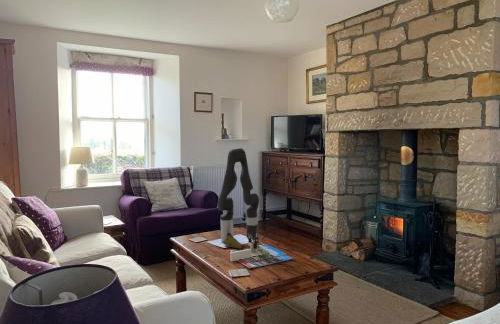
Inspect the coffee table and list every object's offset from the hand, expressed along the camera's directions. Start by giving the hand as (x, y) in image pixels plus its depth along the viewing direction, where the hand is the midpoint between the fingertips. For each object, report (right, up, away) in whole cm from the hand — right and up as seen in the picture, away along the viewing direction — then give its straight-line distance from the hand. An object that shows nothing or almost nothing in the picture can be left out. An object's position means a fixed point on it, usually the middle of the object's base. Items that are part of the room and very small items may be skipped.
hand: (252, 246), depth 240 cm
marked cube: (0, -3, 0) cm, 3 cm away
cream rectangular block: (-8, -5, -12) cm, 15 cm away
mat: (0, -4, 0) cm, 4 cm away
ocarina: (-14, -4, +12) cm, 18 cm away
